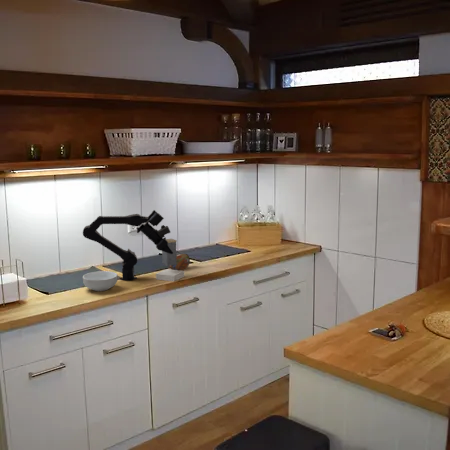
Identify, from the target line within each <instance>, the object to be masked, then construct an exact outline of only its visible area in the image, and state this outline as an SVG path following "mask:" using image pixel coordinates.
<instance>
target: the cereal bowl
mask: <svg viewBox="0 0 450 450" xmlns="http://www.w3.org/2000/svg"><path fill="white" fill-rule="evenodd" d="M82 282H83V285H84V286H85V288H88V289H89V290H93V291H94V292H105V291H107V290H109V289H111V288H113V287H114V286H115V285H116V284H117V282H118V273H116V272H114V271H111V270H110V271H108V270H107V271H106V270H105V271H104V270H99V271H91V272H88V273H85V274H83V276H82Z"/></svg>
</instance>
